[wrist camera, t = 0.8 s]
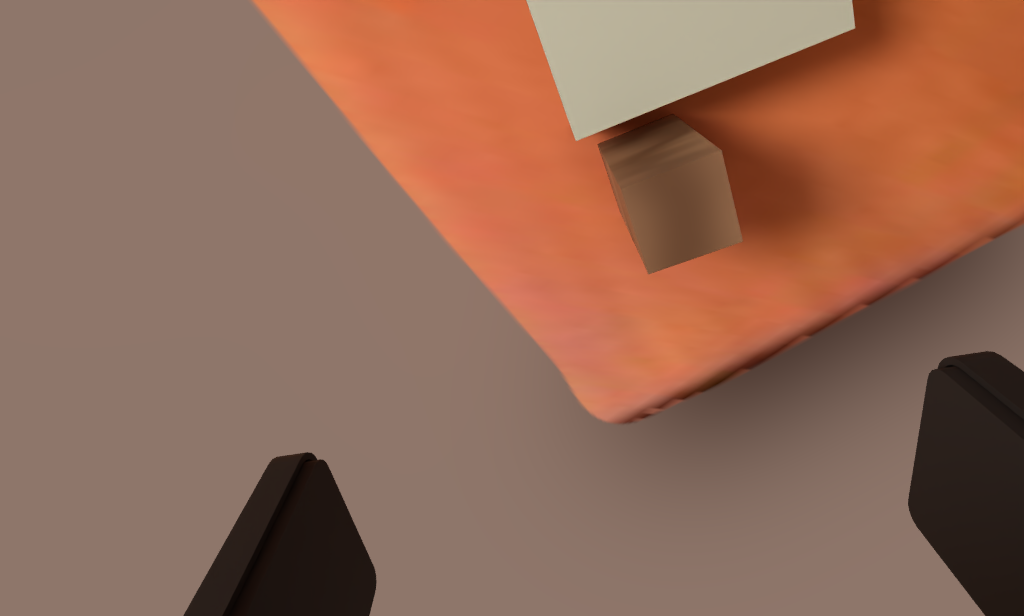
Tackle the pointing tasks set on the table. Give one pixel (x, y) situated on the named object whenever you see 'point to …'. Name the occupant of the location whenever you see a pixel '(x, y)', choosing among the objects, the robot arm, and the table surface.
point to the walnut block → (671, 192)
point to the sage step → (667, 48)
